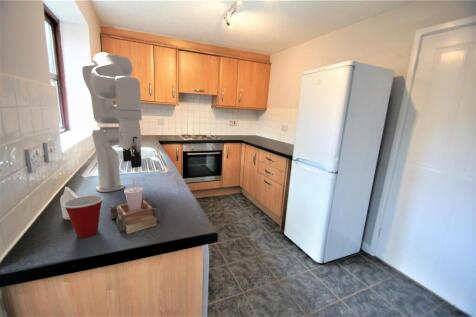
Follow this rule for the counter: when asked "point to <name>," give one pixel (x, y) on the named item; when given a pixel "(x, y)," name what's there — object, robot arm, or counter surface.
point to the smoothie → (134, 198)
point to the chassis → (135, 217)
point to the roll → (65, 197)
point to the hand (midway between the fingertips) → (132, 164)
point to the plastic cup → (84, 214)
